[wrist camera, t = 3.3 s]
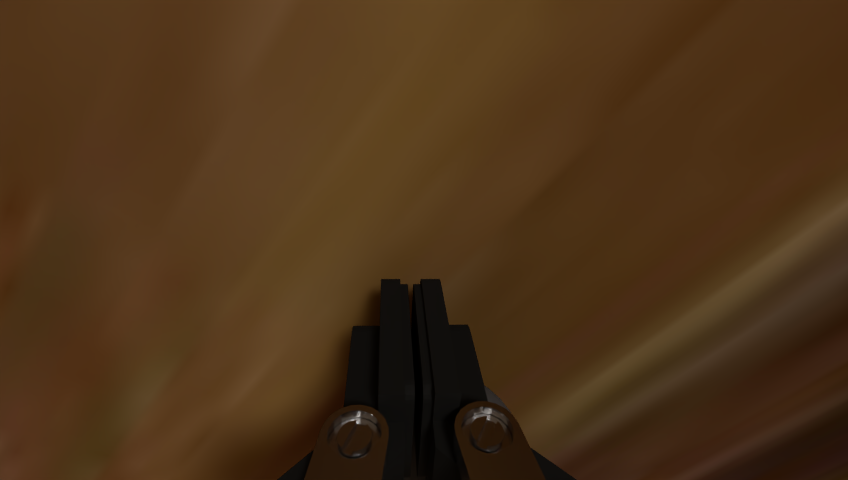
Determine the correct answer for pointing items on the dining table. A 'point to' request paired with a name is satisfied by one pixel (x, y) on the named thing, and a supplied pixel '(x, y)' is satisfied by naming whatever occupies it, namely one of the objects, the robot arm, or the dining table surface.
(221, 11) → the dining table surface
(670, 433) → the dining table surface
